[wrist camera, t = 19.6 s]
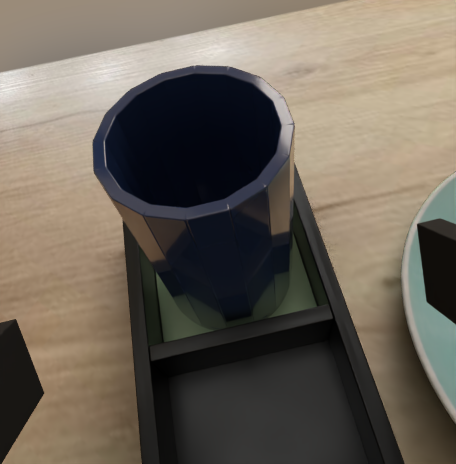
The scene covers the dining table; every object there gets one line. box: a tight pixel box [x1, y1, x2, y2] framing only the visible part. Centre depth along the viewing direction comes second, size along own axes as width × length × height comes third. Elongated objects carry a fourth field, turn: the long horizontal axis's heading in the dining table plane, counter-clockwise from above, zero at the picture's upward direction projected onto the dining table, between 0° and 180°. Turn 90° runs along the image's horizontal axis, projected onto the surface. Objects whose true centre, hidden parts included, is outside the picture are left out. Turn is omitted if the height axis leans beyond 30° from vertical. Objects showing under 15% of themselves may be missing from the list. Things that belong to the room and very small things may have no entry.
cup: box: [93, 65, 295, 330], centre depth 21 cm, size 7×7×12 cm
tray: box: [123, 163, 405, 464], centre depth 22 cm, size 11×20×4 cm, turn 11°
